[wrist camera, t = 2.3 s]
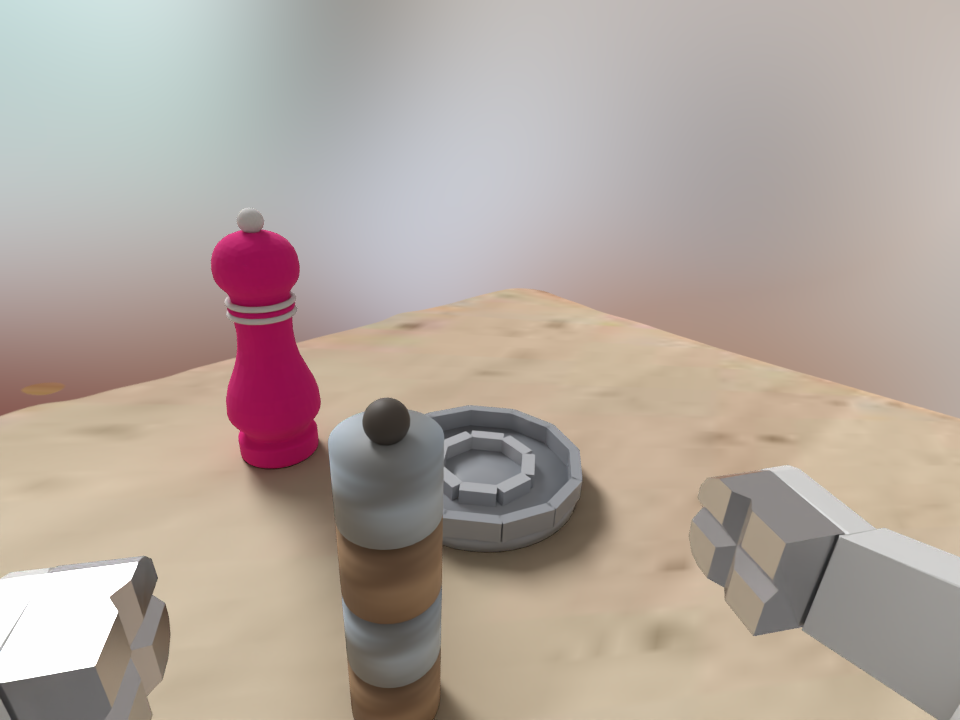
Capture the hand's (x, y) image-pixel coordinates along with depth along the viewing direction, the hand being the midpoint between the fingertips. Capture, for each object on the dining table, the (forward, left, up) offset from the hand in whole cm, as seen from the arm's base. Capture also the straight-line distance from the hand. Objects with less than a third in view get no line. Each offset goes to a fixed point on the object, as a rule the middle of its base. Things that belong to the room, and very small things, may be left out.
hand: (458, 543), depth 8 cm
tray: (-2, +29, -21) cm, 36 cm away
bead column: (-4, +11, -21) cm, 25 cm away
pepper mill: (-19, +31, -22) cm, 43 cm away
